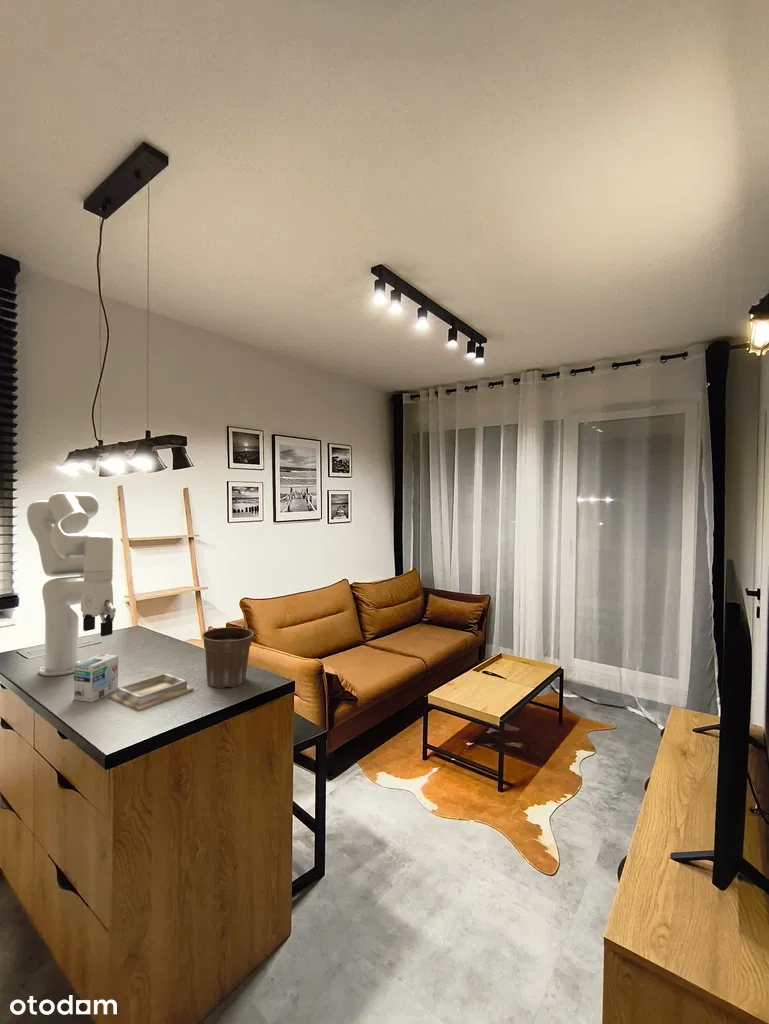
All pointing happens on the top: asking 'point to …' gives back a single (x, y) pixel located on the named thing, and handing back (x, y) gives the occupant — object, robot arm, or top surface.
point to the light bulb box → (95, 677)
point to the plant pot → (227, 655)
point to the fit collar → (151, 691)
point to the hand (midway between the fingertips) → (97, 632)
